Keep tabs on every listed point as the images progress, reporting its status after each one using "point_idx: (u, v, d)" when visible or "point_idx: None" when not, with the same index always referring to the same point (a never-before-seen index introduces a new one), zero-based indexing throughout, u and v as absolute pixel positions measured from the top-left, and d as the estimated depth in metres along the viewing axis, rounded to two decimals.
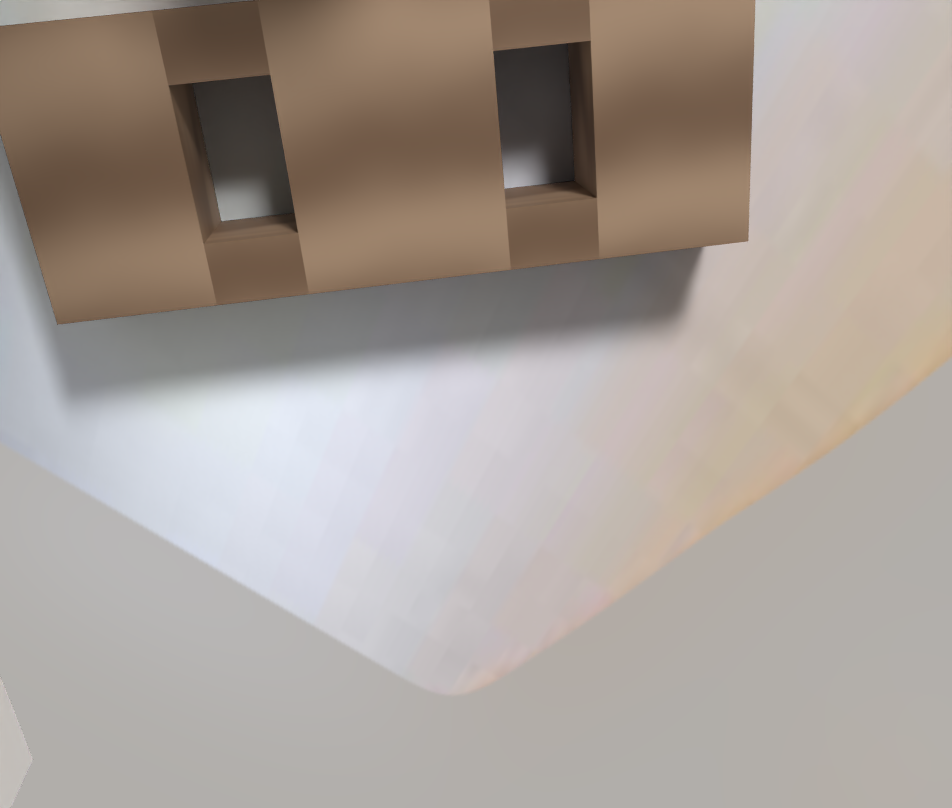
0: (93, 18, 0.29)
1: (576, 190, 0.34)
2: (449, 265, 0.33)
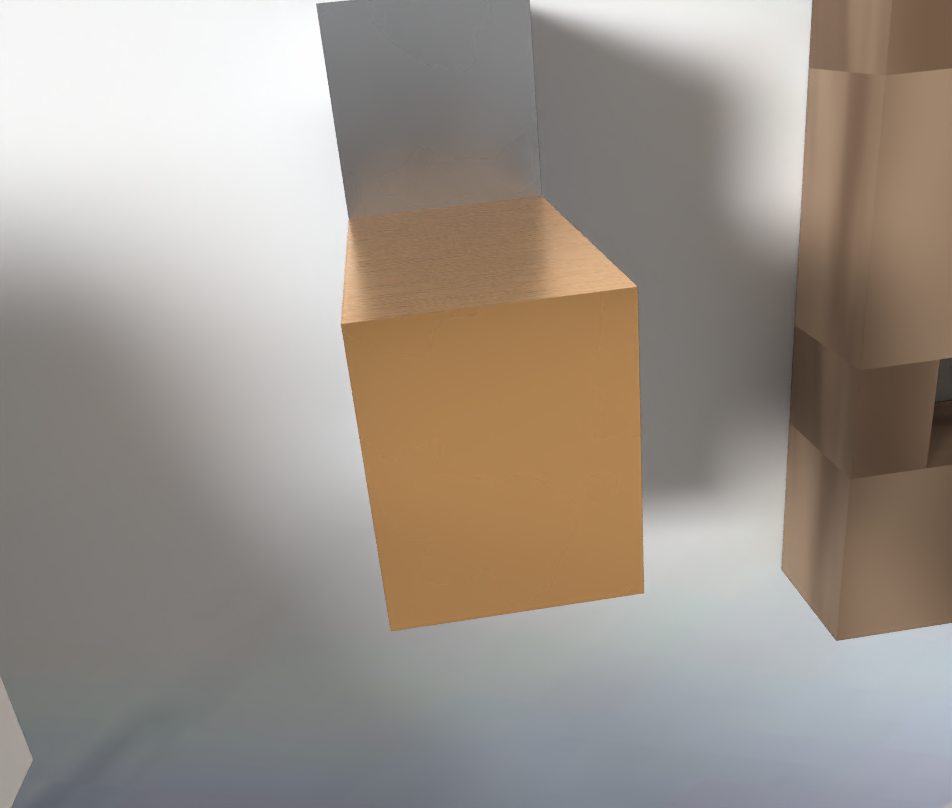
0: (847, 534, 0.26)
1: None
2: None
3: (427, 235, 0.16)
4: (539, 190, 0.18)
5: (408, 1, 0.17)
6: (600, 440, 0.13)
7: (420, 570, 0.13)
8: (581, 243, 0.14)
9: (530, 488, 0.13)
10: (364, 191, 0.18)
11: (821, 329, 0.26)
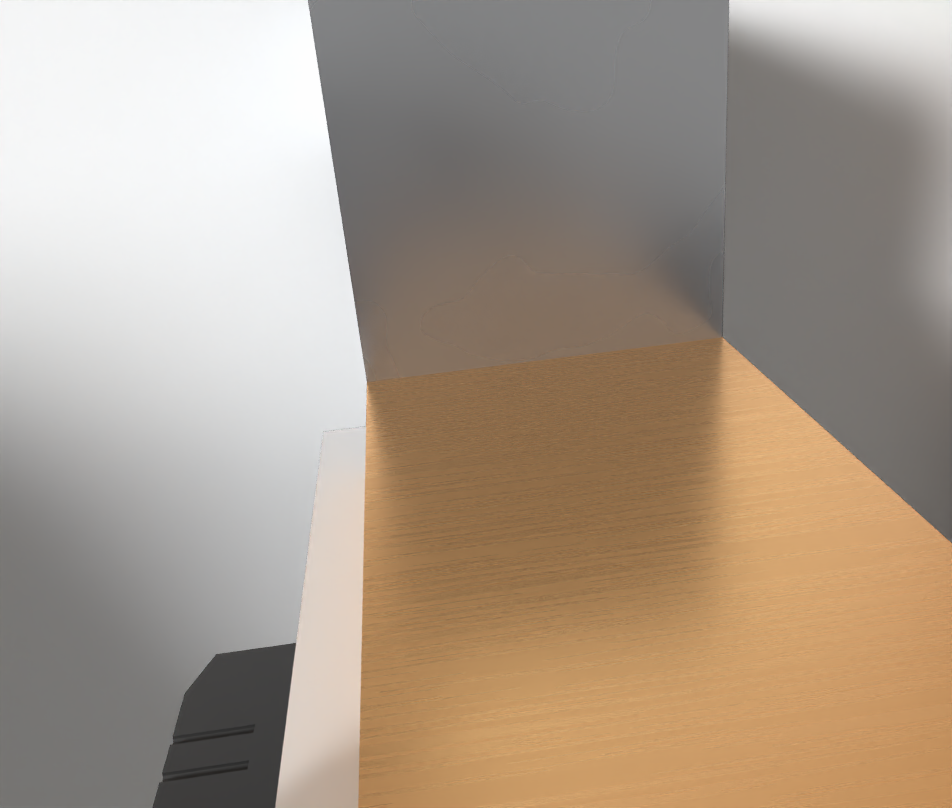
0: None
1: None
2: None
3: (534, 464, 0.08)
4: (718, 328, 0.10)
5: None
6: None
7: None
8: (931, 548, 0.06)
9: None
10: (396, 335, 0.10)
11: None
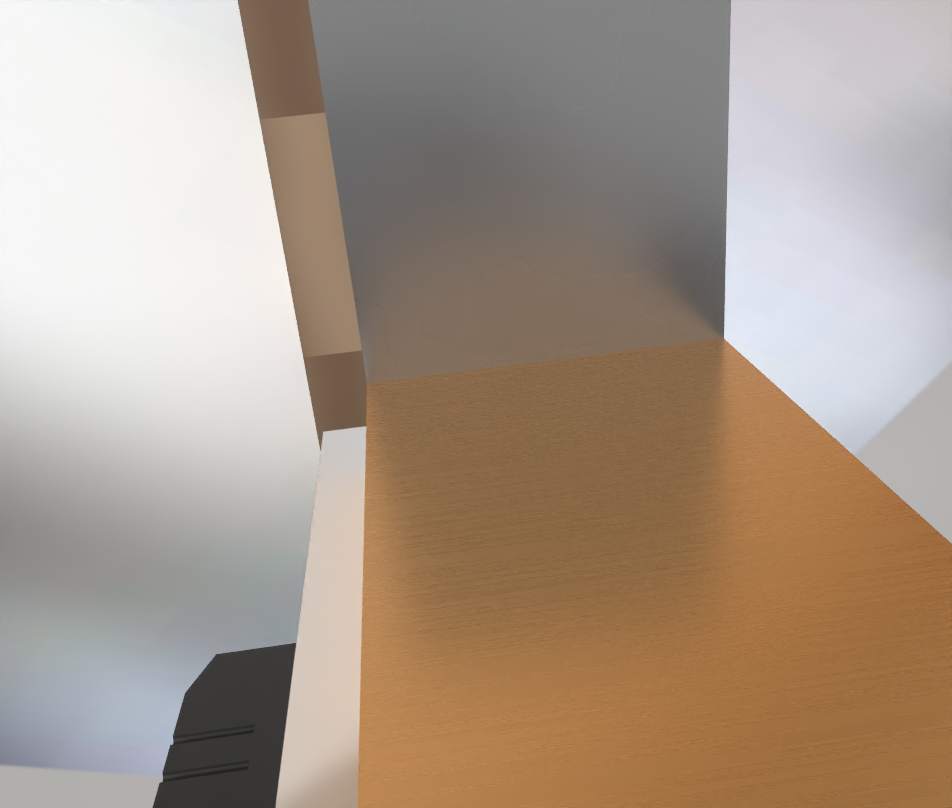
0: None
1: None
2: None
3: (535, 467, 0.08)
4: (719, 329, 0.10)
5: None
6: None
7: None
8: (935, 552, 0.06)
9: None
10: (396, 336, 0.09)
11: None
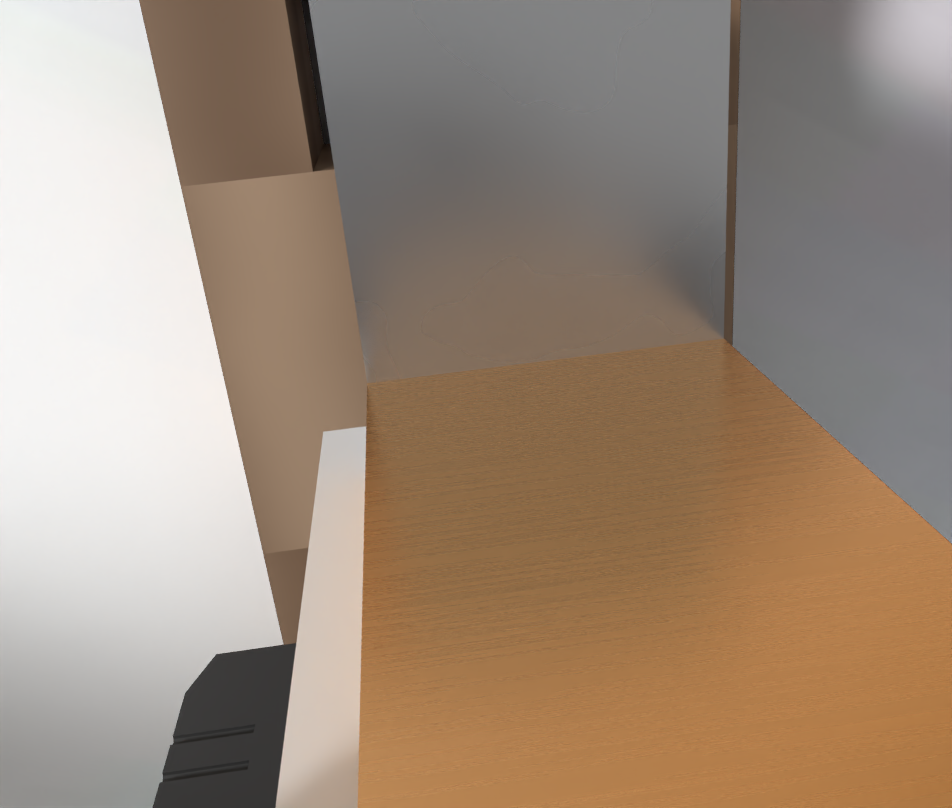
0: None
1: None
2: None
3: (534, 466, 0.08)
4: (719, 329, 0.10)
5: None
6: None
7: None
8: (933, 552, 0.06)
9: None
10: (396, 335, 0.10)
11: None
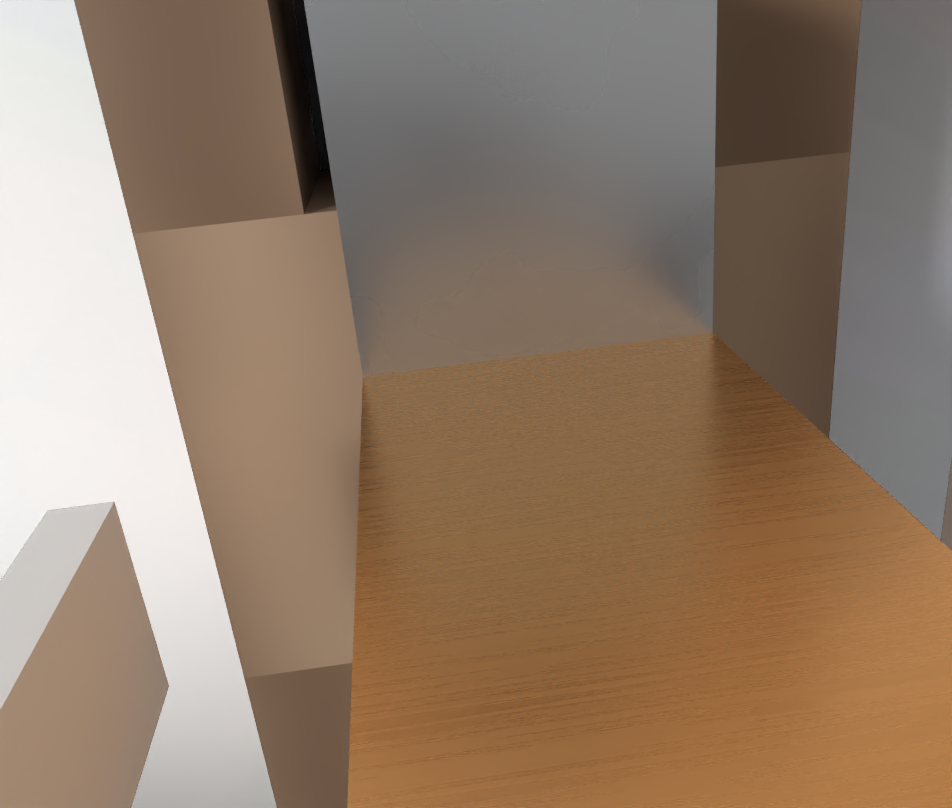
0: None
1: None
2: (810, 310, 0.13)
3: (524, 456, 0.08)
4: (708, 323, 0.10)
5: None
6: None
7: None
8: (908, 535, 0.06)
9: None
10: (392, 330, 0.10)
11: None
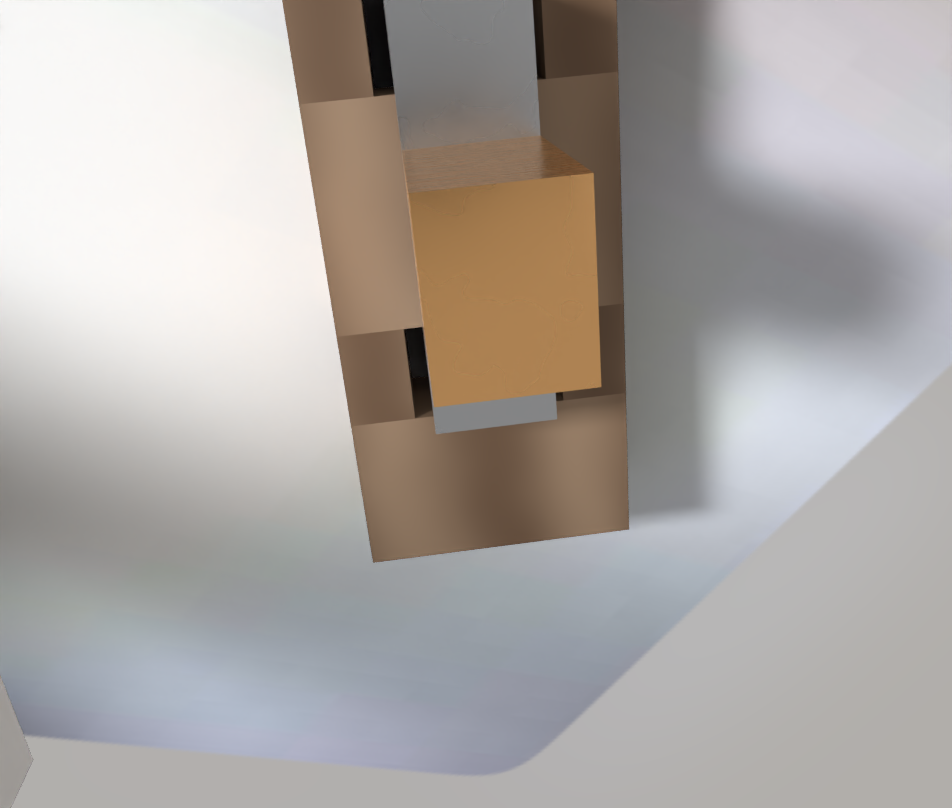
0: (360, 472, 0.32)
1: None
2: (606, 148, 0.29)
3: (459, 156, 0.23)
4: (538, 131, 0.25)
5: None
6: (570, 276, 0.20)
7: (453, 364, 0.20)
8: (563, 156, 0.21)
9: (526, 308, 0.20)
10: (413, 130, 0.25)
11: None
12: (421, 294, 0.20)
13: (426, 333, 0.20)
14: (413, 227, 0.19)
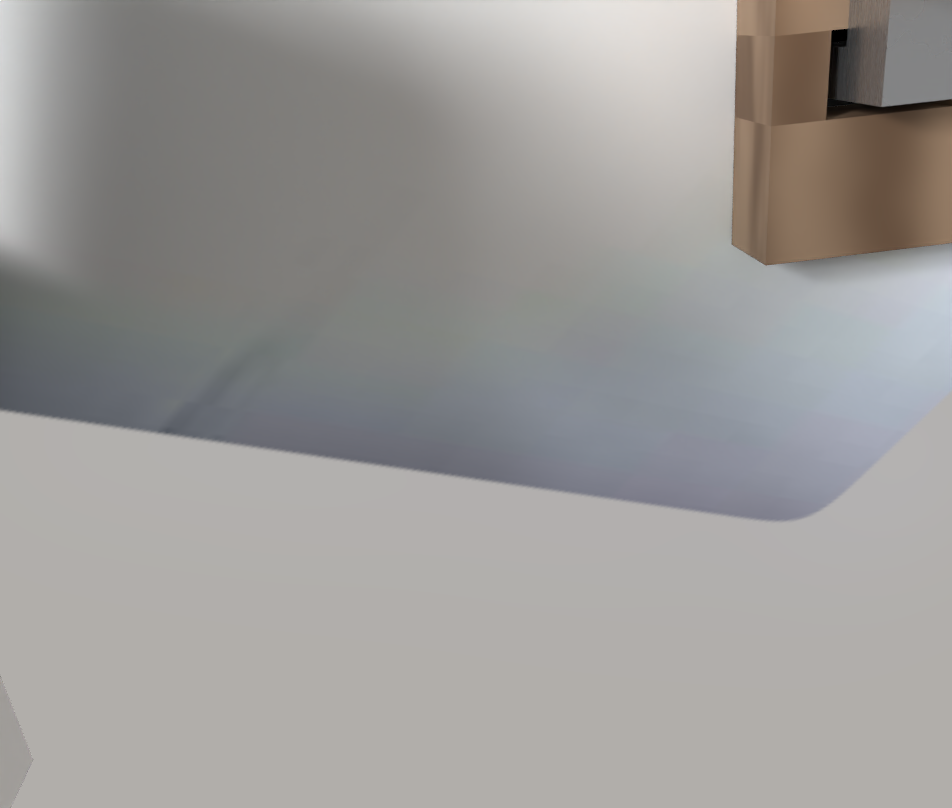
0: (770, 173, 0.37)
1: None
2: None
3: None
4: None
5: None
6: None
7: None
8: None
9: None
10: None
11: (752, 24, 0.37)
12: None
13: None
14: None
